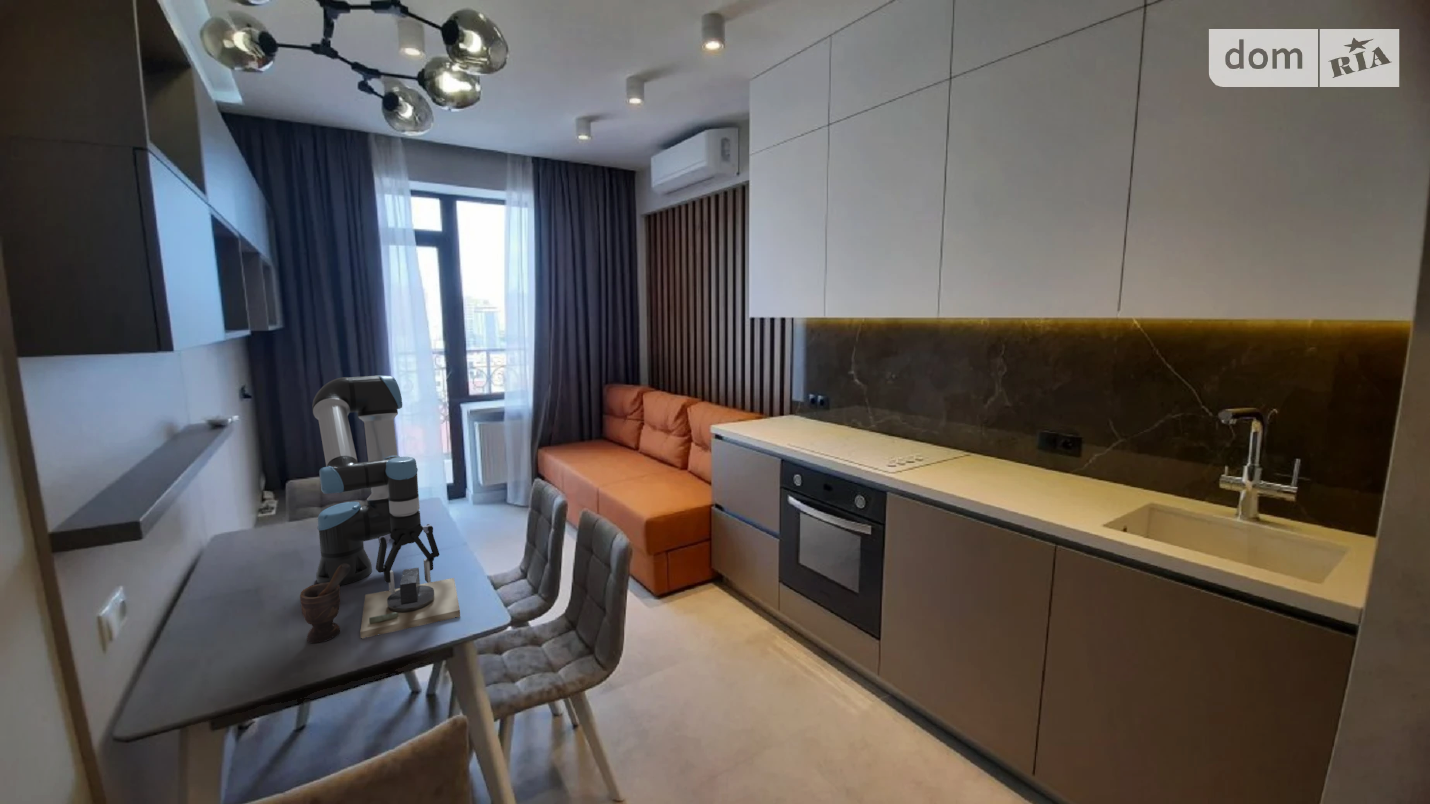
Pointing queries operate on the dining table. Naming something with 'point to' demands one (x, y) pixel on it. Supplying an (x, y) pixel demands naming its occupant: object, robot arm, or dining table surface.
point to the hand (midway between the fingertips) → (410, 586)
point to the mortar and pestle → (323, 606)
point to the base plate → (386, 621)
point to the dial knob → (410, 593)
